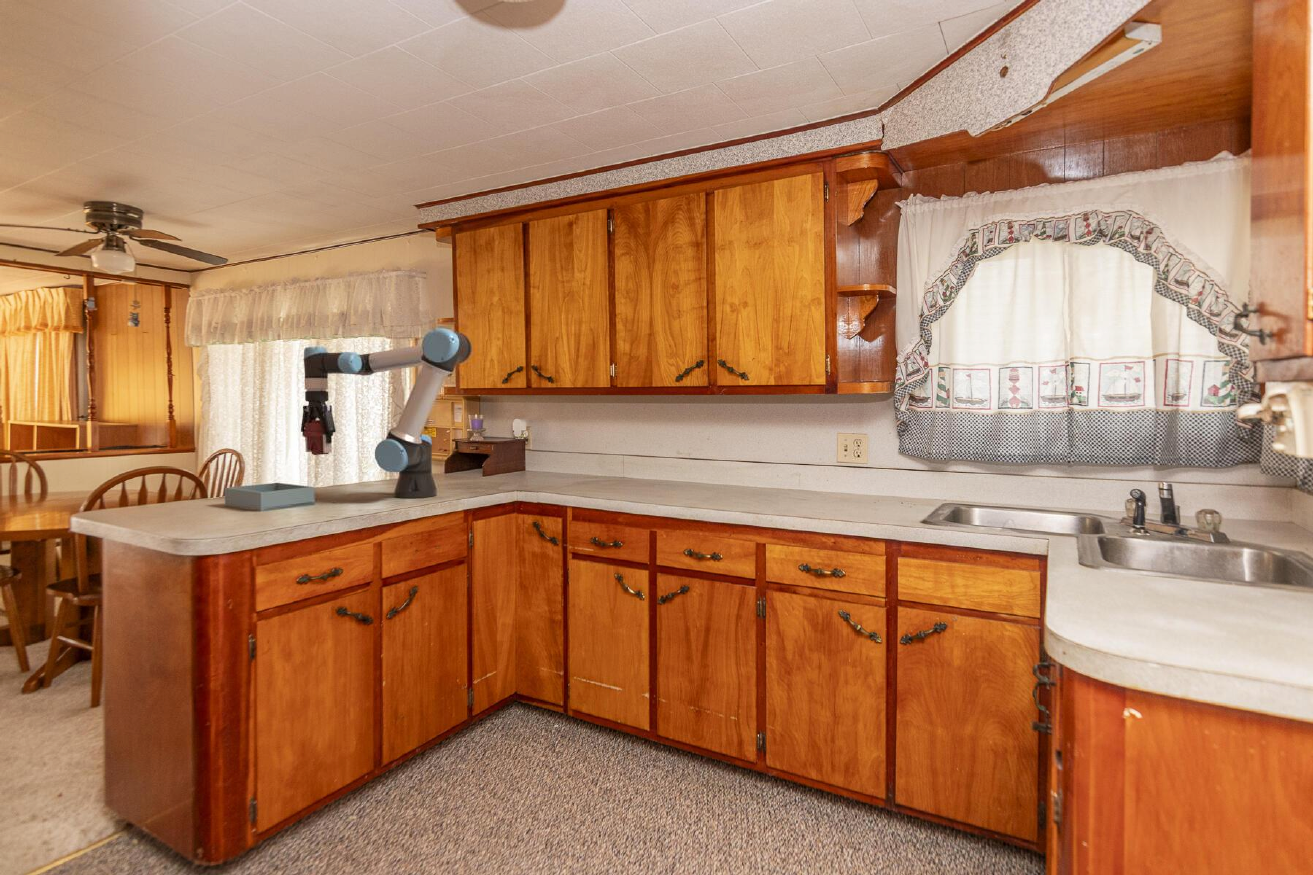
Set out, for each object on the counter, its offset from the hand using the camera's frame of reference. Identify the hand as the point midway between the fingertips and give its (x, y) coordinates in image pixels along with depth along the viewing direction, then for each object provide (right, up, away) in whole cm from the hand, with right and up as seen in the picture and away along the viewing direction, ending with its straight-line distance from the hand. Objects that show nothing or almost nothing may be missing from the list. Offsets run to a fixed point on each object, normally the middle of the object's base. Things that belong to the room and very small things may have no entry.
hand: (318, 452), depth 247 cm
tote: (-9, -18, -15) cm, 25 cm away
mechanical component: (0, -1, 0) cm, 1 cm away
